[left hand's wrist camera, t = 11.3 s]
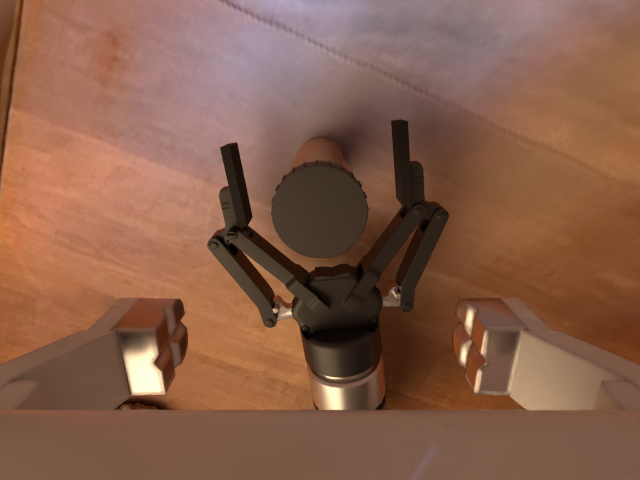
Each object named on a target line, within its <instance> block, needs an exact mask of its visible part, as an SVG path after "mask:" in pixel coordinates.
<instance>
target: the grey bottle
mask: <svg viewBox="0 0 640 480" xmlns="http://www.w3.org/2000/svg"><path fill="white" fill-rule="evenodd" d="M316 159H318V161H327V162H329V160H330V161H331V162H332V163H335V164H338V165H343V167H344V168H345V169H347V170H348V171H349V169H348V166H347V164H346V161H345V159H344V157H343V154H342V152H341V150H340V148H339V147H338V146H337V145H336V144H335V143H334V142H333V141H331V140H329V139H326V138H313V139H310V140H308V141H307V142H305V143H304V144H303V145H302V146H301V148H300V149H299V151H298V153H297V156H296V158H295V160H294V163H293V165H292V168H293V167H295V168H296V167H298V166H299V165H302V164H304V162H305V161H306V163H307V162H312V161H316ZM292 168H291V170H290V171H292ZM349 172H350V171H349Z"/></svg>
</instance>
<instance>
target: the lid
mask: <svg viewBox="0 0 640 480" xmlns="http://www.w3.org/2000/svg"><path fill="white" fill-rule="evenodd" d="M361 187H362V185H361V183H360V181H357V179H356V178H355V177H354V175H353V173H352V172H349V171H348V170H347V169H345V168H344V167H343V165H338V164H335V163H332V162H331V161H330V160H329V162H327V161H318V159H316V161H312V162H307V163H306V161H305V162H304V164H302V165H299V166H298V167H296V168H295V167H293V168H292V171H290V172H289V173H288V174H287V175H284V176H283V179H282V182H281V183H280V185H278V186H277V188H276V190H275V191H276V193H275V196H274V197H273V199H272V212H271V215H272V220H273V224H274V228H275V230H276V232H277V234H278V235H279V237H280V239H281V240H282V241H283V242H284V243H285V244H286V245H287V246H288V247H289V248H291V249H292V250H293V251H295V252H297V253H299V254H301V255H304V256H308V257H313V258H327V257H332V256H335V255H338V254H340V253H342V252H344V251H346V250H347V249H349V248H350V247H351V246H353V245H354V244H355V243H356V241H357V240H358V239H359V238H360V236H361V235H362V233H363V231H364V229H365V226H366V222H367V217H368V206H367V201H366V198H367V196H366V194H365V192H364V191H363V190H362V188H361Z"/></svg>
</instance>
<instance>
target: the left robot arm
mask: <svg viewBox="0 0 640 480" xmlns="http://www.w3.org/2000/svg"><path fill="white" fill-rule="evenodd" d="M184 314H185V312H184V306H183V302H182V301H181V300H180V299H171V298H121V299H119V300H118V301H117V302H116V303H115V304H114V305H113V306H112V307H111V308H110V309H109V310H108V311H107V312H106V313H105V314H104V315H103V316H102V317H101V318H100V319H99V320H98V321H97V322H96V323H95V324H94V325H93V326H92V327H91V328H90V329H89V330H88V331H79V332H77V333H75V334H72V335H70V336H67V337H65V338H63V339H60V340H58V341H56V342H53V343H51V344H48V345H46V346H44V347H41V348H39V349H37V350H34V351H32V352H29V353H27V354H25V355H22V356H20V357H17V358H15V359H13V360H10V361H8V362H6V363H3V364H1V365H0V480H640V365H639V364H637V363H634V362H632V361H629V360H627V359H625V358H622V357H620V356H618V355H615V354H613V353H610V352H608V351H606V350H603V349H601V348H599V347H596V346H594V345H592V344H589V343H587V342H584V341H582V340H580V339H577V338H575V337H573V336H570V335H568V334H565V333H563V332H561V331H552V330H551V329H550V328H549V327H548V326H547V325H546V324H545V323H544V322H543V321H542V320H541V319H540V318H539V317H538V316H537V315H536V314H535V313H534V312H533V311H532V310H531V309H530V308H529V307H528V306H527V305H526V304H525V303H524V302H523V301H522V300H521V299H519V298H516V297H515V298H476V299H459V300H458V303H457V305H456V312H455V314H456V316H457V317H458V319H459V322H458V323H457V324H456V326H455V327H454V328H453V334H452V346H453V352H454V355H455V358H456V360H457V362H458V364H460V365H462V366H463V367H465V368H466V369H465V377H466V379H467V381H468V383H469V385H470V386H471V388H472V390H473V392H474V394H483V395H510V397H511V398H512V399H513V400H515V401H516V402H517V403H518V404H520V405H521V406H522V407H524V408H525V409H526V410H114V409H115V408H117V407H118V406H119V405H120V404H122V403H123V402H124V401H126V400H127V399H128V398H129V397H130V395H156V394H166V392H167V390H168V388H169V387H170V385H171V383H172V381H173V379H174V377H175V369H174V368H175V367H177V366H178V365H180V364H182V362H183V360H184V358H185V356H186V351H187V347H188V333H187V328H186V327H185V326H184V325H183V323H182V322H181V319H182V317H183V316H184Z"/></svg>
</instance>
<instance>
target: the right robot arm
mask: <svg viewBox="0 0 640 480" xmlns="http://www.w3.org/2000/svg"><path fill="white" fill-rule="evenodd" d="M391 124H392V139H393V154H394V168H395V183H396V198H397V199H398V201H399V202H400V203H401V204H402V208H401V209H400V210H399V212H398V213H397V214H396V216H395V217H394V219H393V220H392V221H391V223H390V224H389V225H388V227H387V228H386V229H385V231H384V232H383V234H382V235H381V236H380V238H379V239H378V240H377V242H376V243H375V244H374V246H373V247H372V249H371V250H370V251H369V253H368V254H367V255H366V256H364V257H363V258H362V259H361V261H360V262H359V263H358V265H357V266H356V268H355V267H353V266H349V264H348V263H347V264H340V265H337V266H335V267H315V270H313V271H311V272H310V273H309V272H308V271H306V270H305V269H304V268H303V267H302V266H300V265H298V264H295V263H294V262H292V261H291V260H290V259H289V258H287V257H286V256H285V255H284V254H283V253H281V252H280V251H279V250H278V249H276V248H275V247H274V246H273V245H271V244H270V243H269V242H268V241H267V240H265V239H264V238H263V237H262V236H260V235H259V234H258V233H257V232H255V231H254V230H253V229H252V228H251V227H249V226H248V224H249V222H250V220H251V219H252V212H251V207H250V203H249V198H248V193H247V188H246V183H245V178H244V174H243V169H242V164H241V159H240V154H239V149H238V145H237V143H231V144H227V145H225V146H223V147H221V148H220V149H221V154H222V158H223V163H224V167H225V172H226V176H227V181H228V185H229V186H226V187H223V188H222V189H221V190H220V194H219V199H220V203H221V207H222V211H223V216H224V220H225V225H226V226H225V228H223V229H221V230H217V231H216V232H215V234H214V235H213V236H212V237H211V239H210V240H209V241H208V244H207V246H208V248H209V250H210V251H211V252H212V253H213V255H214V256H215V257H216V258H217V259H218V261H219V262H220V263H221V264H222V265H223V267H224V268H225V269H226V270H227V271H228V272H229V274H230V275H231V276H232V277H233V278H234V280H235V281H236V282H237V283H238V284H239V286H240V287H241V288H242V289H243V290H244V292H245V293H246V294H247V295H248V296H249V298H250V299H251V300H252V301H253V302H254V303H255V305H256V306H257V307H258V309H259V312H260V314H261V317H262V320H263V323H264V325H265V326H266V327H269V328H272V327H274V326H275V325H276V323H277V321H278V320H282V319H287V318H291V317H294V319H295V320H296V321H297V322H298V324H299V326H300V331H301V337H302V342H303V348H304V354H305V359H306V362H307V371H308V376H309V381H310V386H311V391H312V396H313V402H314V406H315V410H387V404H386V392H385V389H386V386H385V376H384V367H383V357H382V354H381V352H382V346H381V335H380V325H379V313H380V310H381V308H382V307H391V306H400V309H401V310H402V311H404V312H409V311H410V310H412V308H413V304H414V290H415V287H416V285H417V283H418V281H419V279H420V277H421V275H422V273H423V270H424V268H425V266H426V264H427V262H428V260H429V258H430V256H431V254H432V251H433V249H434V247H435V245H436V243H437V241H438V239H439V237H440V235H441V233H442V230H443V228H444V226H445V224H446V222H447V220H448V217H449V214H448V212H447V211H446V210H445V209H444V208H443V207H442V206H441V205H439V204H438V203H437V202H428V201H425V198H424V177H423V176H424V174H423V168H422V165H421V163H419V162H418V161H410V154H409V135H408V121H405V120H401V119H400V120H393V121H391ZM419 222H420V223H419ZM418 224H419V225H418ZM417 225H418V227H417V229H416V232H415V234H414V236H413V238H412V241H411V243H410V245H409V247H408V250H407V252H406V254H405V256H404V258H403V261H402V263H401V265H400V267H399V270H398V272H397V276H396V282H394V281H393V282H391V283H390V285H389V287H388V289H387V290H386V291H385V292H382V293H381V292H380V291H379V289H378V288H377V287H376V286H375V284H376V283H377V281H378V280H379V278H380V276H381V273H382V271H383V270H384V269H385V267H386V266H387V265H388V263H389V262H390V261H391V259H392V258H393V257H394V255H395V254H396V253H397V251H398V250H399V249H400V247H401V246H402V245H403V244H404V242H405V241H406V240H407V238H408V237H409V236H410V234H411V233H412V232H413V230H414V229H415V228H416V226H417ZM241 250H242V251H243V252H244V253H246V254H247V255H248V256H249V257H251V258H252V259H253V260H254V261H256V262H257V263H258V264H259V265H261V266H262V267H263V268H265V269H266V270H267V271H268V272H270V273H271V274H272V275H273V276H275V277H276V278H277V279H279V280H280V281H281V282H282V283H284V284H285V286H286V287H287V289H288V290H289V291H290V292H291V293H292V294H294V295H295V297H294V299H293V301H292V303H286V302H285V301H284V300H283V299H282V298H281V297H280V296H279V295H277V296H275V294H274V292H273V290H272V288H271V287H270V285H269V284H268V283H267V282H266V280H265V279H264V278H263V277H262V276H261V274H260V273H259V272H258V271H257V269H256V268H255V267H254V266H253V264H252V263H251V262H250V261H249V259H248V258H247V257H246V256H245V254H244V253H243V252H242V251H241ZM522 410H526V409H522Z"/></svg>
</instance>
